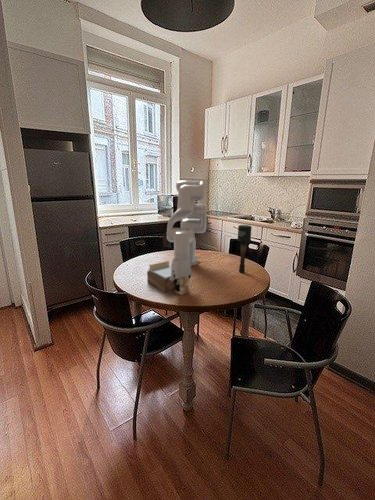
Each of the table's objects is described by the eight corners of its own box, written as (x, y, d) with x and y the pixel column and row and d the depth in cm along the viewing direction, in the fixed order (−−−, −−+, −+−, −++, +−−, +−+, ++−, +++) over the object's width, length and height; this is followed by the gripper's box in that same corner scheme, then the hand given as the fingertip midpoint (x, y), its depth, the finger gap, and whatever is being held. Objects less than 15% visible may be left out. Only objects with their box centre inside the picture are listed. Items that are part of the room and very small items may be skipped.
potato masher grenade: (233, 270, 165) (236, 224, 157) (246, 269, 166) (249, 224, 158) (236, 274, 157) (240, 227, 149) (250, 274, 158) (254, 227, 150)
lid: (166, 266, 149) (166, 259, 148) (184, 273, 137) (184, 266, 136) (148, 270, 141) (148, 263, 140) (165, 279, 129) (165, 272, 128)
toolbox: (167, 277, 152) (167, 266, 150) (185, 286, 139) (185, 274, 138) (147, 282, 143) (147, 271, 141) (164, 292, 131) (164, 280, 129)
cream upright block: (182, 289, 135) (182, 272, 132) (188, 292, 131) (188, 275, 128) (174, 292, 132) (174, 274, 129) (180, 295, 128) (180, 277, 125)
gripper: (189, 251, 134) (189, 282, 139) (163, 257, 123) (163, 291, 128) (199, 254, 129) (198, 287, 133) (172, 260, 118) (172, 296, 123)
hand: (181, 288), depth 131 cm, fingers closed on cream upright block, 5 cm apart
